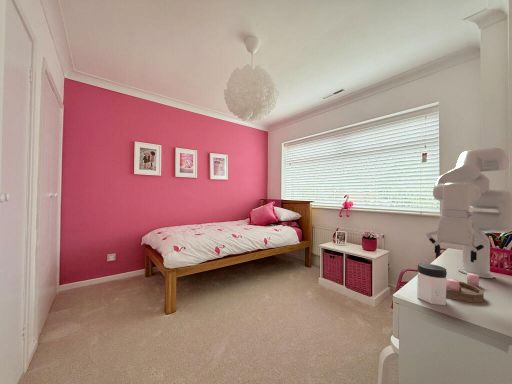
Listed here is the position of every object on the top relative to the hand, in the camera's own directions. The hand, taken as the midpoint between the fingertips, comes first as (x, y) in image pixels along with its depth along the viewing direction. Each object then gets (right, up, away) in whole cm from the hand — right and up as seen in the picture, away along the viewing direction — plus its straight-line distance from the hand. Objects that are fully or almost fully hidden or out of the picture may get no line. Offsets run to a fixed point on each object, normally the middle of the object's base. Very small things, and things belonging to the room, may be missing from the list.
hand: (454, 258), depth 81 cm
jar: (-13, -14, -5) cm, 20 cm away
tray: (+2, -14, +2) cm, 14 cm away
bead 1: (-2, -13, -1) cm, 13 cm away
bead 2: (+18, -15, +10) cm, 25 cm away
